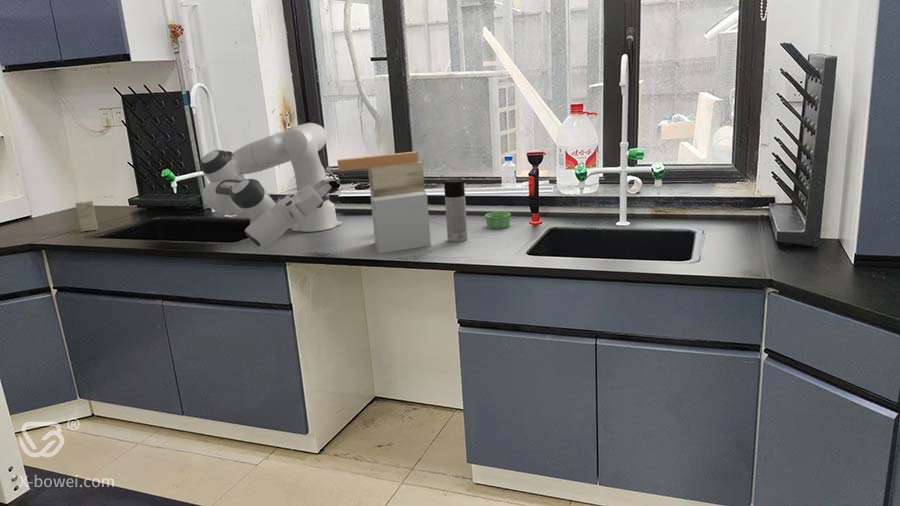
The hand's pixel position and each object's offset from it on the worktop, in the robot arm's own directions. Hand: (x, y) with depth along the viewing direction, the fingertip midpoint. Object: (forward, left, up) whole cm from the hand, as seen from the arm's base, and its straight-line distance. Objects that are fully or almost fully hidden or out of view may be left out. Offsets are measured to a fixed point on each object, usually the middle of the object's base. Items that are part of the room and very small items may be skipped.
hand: (327, 183), depth 208 cm
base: (+9, +21, -22) cm, 32 cm away
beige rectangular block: (0, +23, -22) cm, 32 cm away
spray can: (+10, +39, -23) cm, 46 cm away
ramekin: (0, +58, -23) cm, 62 cm away
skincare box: (-92, -88, -23) cm, 129 cm away
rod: (0, +17, +4) cm, 18 cm away
